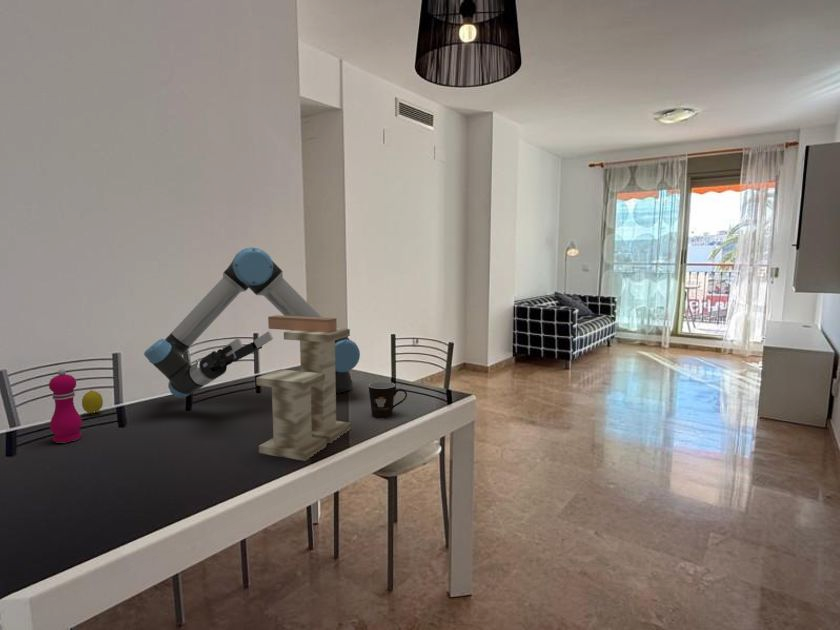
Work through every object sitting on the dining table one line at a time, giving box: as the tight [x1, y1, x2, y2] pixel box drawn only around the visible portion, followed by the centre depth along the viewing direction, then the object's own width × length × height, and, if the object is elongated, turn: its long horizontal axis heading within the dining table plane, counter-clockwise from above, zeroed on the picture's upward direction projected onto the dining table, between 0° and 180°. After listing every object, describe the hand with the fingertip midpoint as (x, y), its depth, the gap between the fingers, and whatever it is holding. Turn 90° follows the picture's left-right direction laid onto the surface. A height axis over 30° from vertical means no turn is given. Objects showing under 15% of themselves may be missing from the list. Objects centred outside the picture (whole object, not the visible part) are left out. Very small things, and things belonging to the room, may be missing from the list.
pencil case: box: [267, 314, 337, 332], centre depth 137 cm, size 20×4×4 cm, turn 70°
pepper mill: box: [48, 368, 83, 443], centre depth 132 cm, size 7×7×20 cm
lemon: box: [81, 389, 104, 414], centre depth 155 cm, size 6×6×8 cm
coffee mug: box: [368, 381, 408, 419], centre depth 154 cm, size 12×9×10 cm
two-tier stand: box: [255, 327, 352, 462], centre depth 132 cm, size 14×24×30 cm, turn 160°
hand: (256, 338), depth 143 cm, fingers open, 13 cm apart
